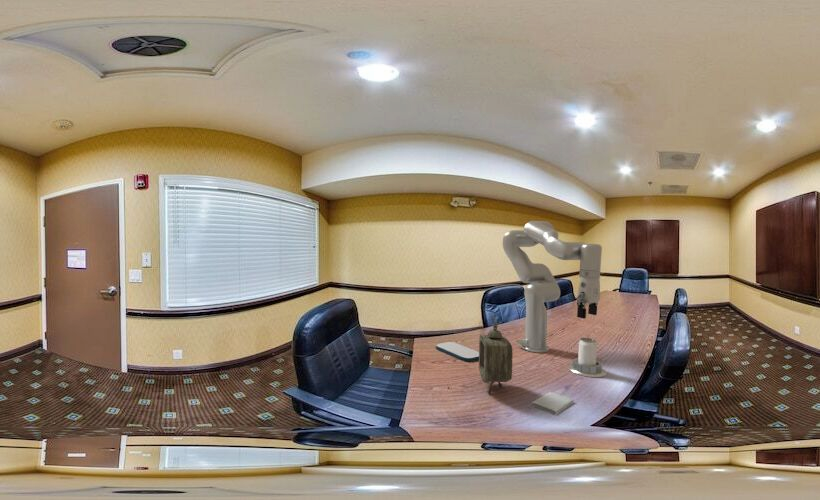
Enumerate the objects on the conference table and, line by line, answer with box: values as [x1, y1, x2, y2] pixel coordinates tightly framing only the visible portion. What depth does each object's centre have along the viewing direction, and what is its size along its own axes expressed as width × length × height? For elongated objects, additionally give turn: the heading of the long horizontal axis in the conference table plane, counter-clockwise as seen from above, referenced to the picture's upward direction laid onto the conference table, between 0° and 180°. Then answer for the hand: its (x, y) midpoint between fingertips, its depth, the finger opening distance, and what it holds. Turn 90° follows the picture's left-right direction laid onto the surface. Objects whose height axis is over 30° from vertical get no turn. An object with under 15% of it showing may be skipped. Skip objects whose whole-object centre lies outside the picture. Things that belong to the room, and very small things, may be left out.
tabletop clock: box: [478, 316, 513, 394], centre depth 130 cm, size 14×9×25 cm, turn 178°
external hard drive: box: [435, 341, 479, 363], centre depth 168 cm, size 24×12×2 cm, turn 34°
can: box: [577, 337, 598, 366], centre depth 148 cm, size 6×6×12 cm
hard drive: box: [530, 391, 575, 415], centre depth 119 cm, size 2×8×12 cm
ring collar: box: [567, 357, 608, 379], centre depth 148 cm, size 14×14×4 cm
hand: (586, 316), depth 151 cm, fingers open, 9 cm apart
